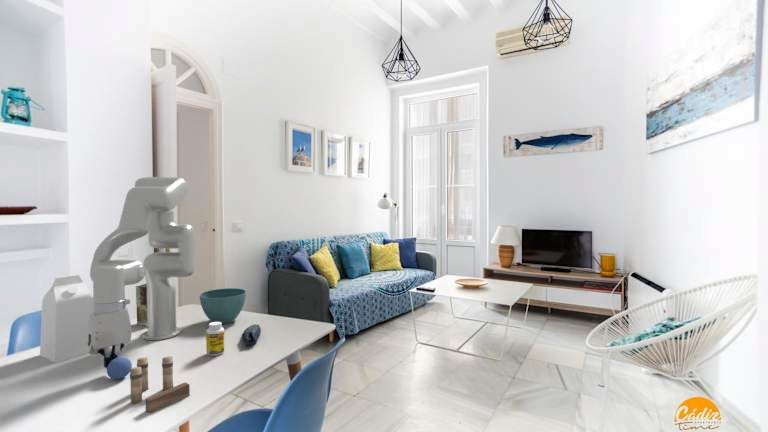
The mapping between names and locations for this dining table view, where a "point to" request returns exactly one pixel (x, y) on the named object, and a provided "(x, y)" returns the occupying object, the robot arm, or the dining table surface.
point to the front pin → (143, 372)
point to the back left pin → (167, 372)
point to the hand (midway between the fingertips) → (110, 368)
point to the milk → (65, 319)
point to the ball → (119, 368)
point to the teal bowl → (223, 304)
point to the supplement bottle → (215, 339)
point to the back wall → (167, 397)
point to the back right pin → (136, 385)
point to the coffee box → (141, 304)
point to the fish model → (251, 334)
